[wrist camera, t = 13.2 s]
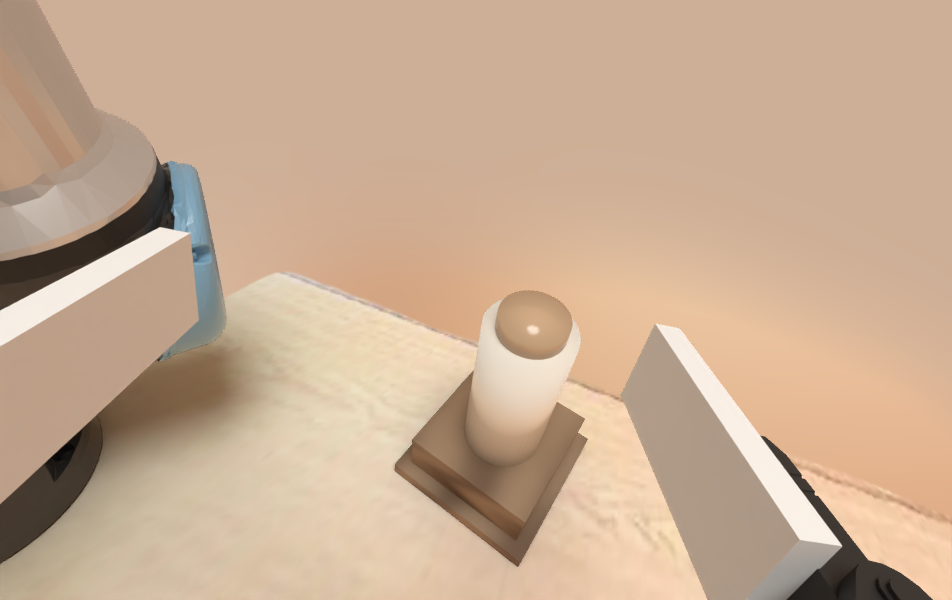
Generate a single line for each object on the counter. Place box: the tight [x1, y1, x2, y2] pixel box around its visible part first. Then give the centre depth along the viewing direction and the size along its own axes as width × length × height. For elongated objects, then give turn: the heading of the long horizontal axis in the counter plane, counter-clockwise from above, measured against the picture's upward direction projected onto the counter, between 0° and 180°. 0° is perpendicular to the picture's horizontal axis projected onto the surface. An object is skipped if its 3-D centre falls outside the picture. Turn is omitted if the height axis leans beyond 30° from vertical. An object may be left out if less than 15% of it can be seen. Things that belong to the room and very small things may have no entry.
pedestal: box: [395, 370, 588, 566], centre depth 37 cm, size 12×12×5 cm
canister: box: [465, 291, 581, 467], centre depth 30 cm, size 6×6×13 cm
